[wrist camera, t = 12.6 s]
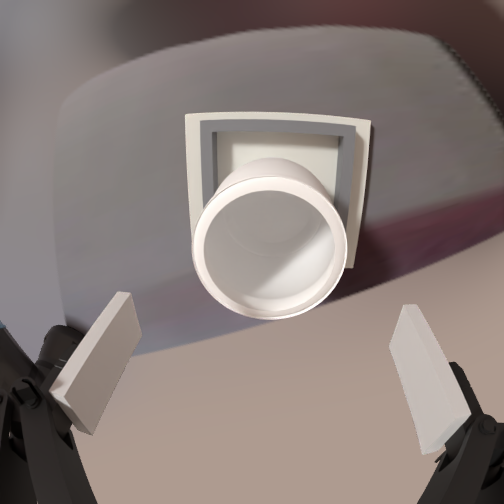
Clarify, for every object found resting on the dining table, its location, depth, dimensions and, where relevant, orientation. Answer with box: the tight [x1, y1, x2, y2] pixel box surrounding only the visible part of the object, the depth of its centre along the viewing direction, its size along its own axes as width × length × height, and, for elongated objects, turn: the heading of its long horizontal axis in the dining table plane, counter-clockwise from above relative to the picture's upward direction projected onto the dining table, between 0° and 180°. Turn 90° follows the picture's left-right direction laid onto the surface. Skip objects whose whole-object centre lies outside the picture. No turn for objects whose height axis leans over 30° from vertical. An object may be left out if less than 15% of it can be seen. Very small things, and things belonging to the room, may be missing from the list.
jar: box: [192, 157, 347, 319], centre depth 26 cm, size 11×10×15 cm
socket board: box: [185, 112, 371, 268], centre depth 32 cm, size 20×18×4 cm
